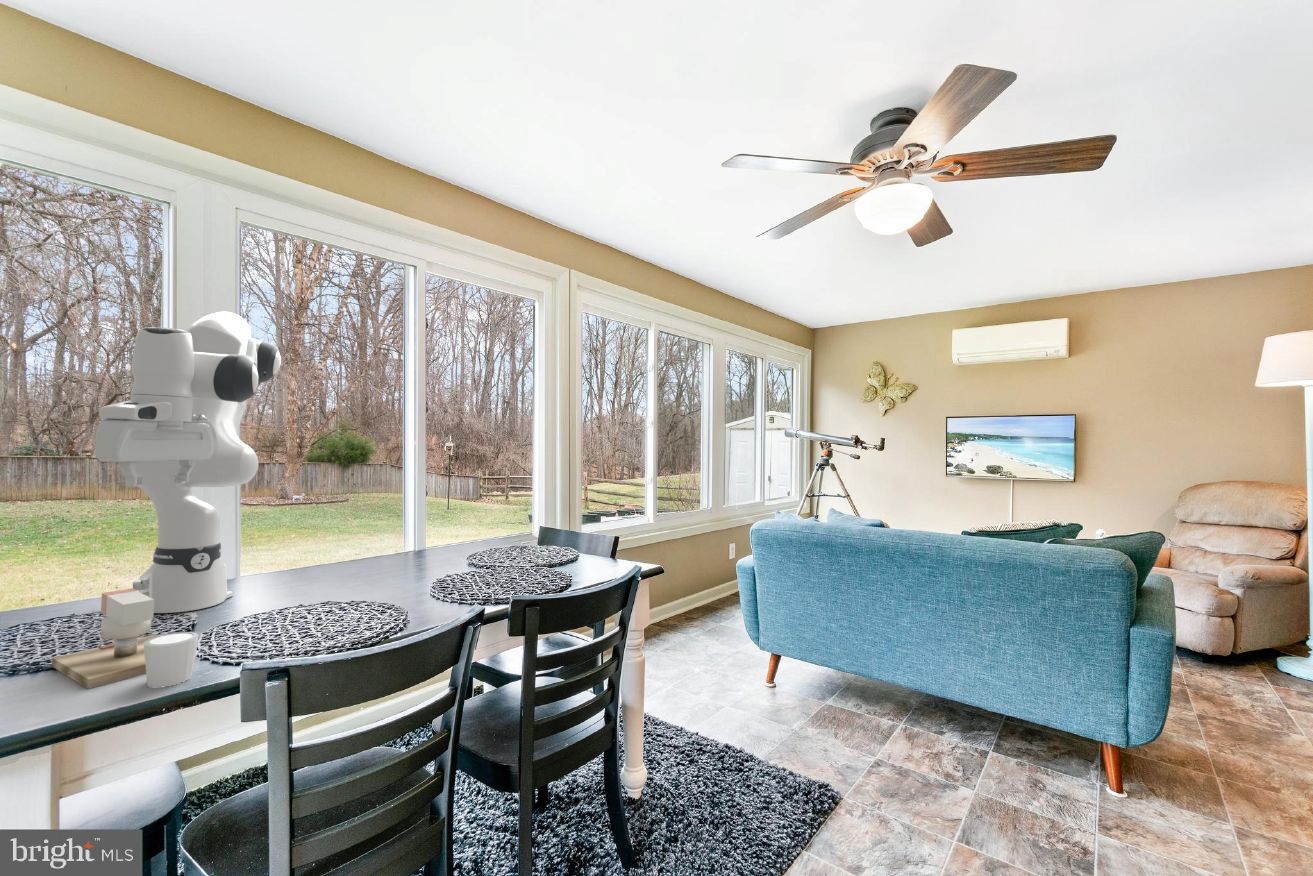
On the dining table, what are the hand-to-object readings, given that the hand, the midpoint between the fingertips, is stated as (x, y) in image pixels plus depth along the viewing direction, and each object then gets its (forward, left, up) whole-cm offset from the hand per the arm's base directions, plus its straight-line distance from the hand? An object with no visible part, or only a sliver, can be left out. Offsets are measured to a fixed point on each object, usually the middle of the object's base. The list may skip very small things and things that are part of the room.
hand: (158, 484), depth 104 cm
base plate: (+4, -5, -31) cm, 32 cm away
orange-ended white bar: (+4, -5, -26) cm, 27 cm away
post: (+4, -5, -30) cm, 30 cm away
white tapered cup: (+18, -4, -31) cm, 37 cm away
